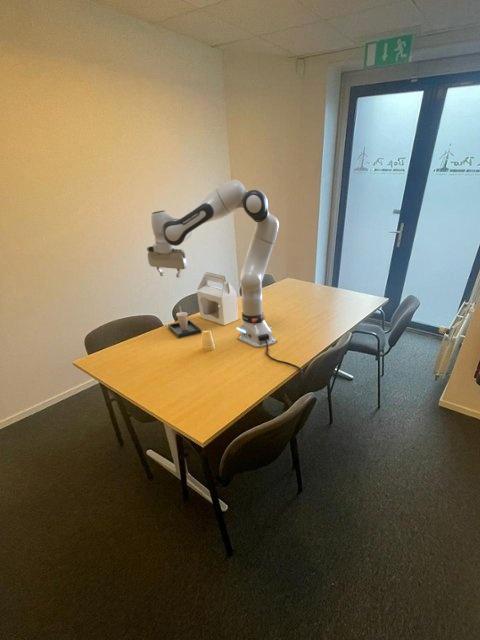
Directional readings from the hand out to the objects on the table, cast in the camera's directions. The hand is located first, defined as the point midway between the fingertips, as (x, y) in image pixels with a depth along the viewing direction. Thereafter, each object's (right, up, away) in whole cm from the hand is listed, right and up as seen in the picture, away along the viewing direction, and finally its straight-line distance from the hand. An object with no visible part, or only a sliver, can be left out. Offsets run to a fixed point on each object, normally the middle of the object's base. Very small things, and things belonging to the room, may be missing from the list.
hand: (170, 276), depth 156 cm
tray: (0, -25, +21) cm, 32 cm away
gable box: (+17, -14, +38) cm, 44 cm away
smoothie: (0, -24, +20) cm, 32 cm away
